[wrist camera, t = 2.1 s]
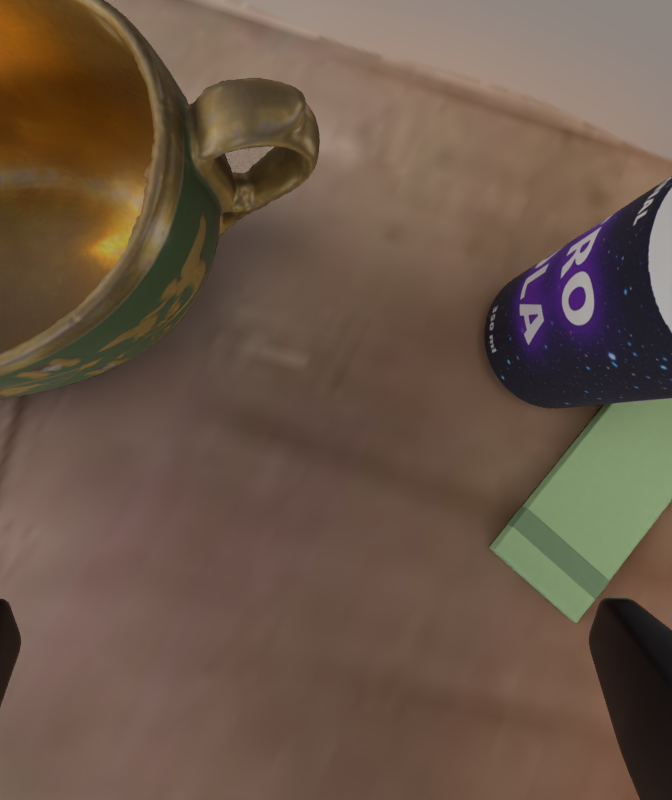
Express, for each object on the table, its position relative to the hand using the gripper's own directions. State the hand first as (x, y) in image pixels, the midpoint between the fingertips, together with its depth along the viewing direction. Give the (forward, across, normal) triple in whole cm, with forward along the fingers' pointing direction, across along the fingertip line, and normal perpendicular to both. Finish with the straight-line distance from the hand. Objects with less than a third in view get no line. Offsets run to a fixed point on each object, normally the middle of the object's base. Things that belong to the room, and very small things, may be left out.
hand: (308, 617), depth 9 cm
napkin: (+14, -13, +6) cm, 20 cm away
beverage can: (+16, -9, +2) cm, 19 cm away
